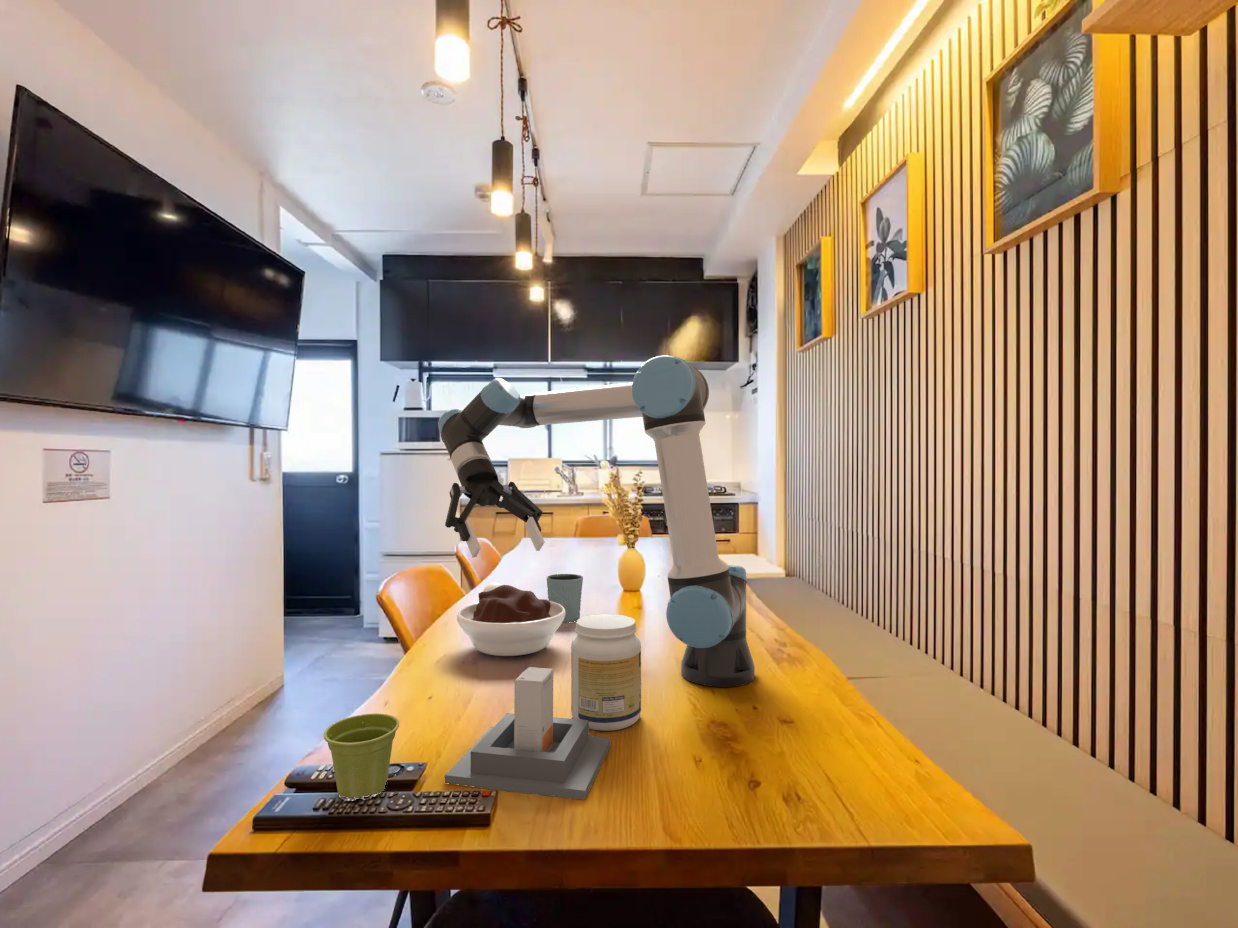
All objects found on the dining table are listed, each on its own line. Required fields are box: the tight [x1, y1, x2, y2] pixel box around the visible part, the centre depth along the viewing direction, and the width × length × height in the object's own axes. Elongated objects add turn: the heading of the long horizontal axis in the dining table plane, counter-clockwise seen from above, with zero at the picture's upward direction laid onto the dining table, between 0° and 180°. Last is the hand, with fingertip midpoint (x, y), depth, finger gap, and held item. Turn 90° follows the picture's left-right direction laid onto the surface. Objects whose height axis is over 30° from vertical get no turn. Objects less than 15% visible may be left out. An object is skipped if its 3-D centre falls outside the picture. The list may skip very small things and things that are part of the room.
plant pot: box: [323, 713, 400, 797], centre depth 85 cm, size 9×9×9 cm
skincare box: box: [513, 666, 554, 752], centre depth 93 cm, size 6×4×12 cm
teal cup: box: [546, 573, 584, 624], centre depth 176 cm, size 10×10×12 cm
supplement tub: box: [570, 613, 642, 732], centre depth 109 cm, size 12×12×17 cm
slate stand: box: [444, 712, 612, 801], centre depth 92 cm, size 20×16×4 cm
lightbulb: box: [482, 581, 503, 592], centre depth 172 cm, size 6×6×11 cm
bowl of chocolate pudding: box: [456, 584, 566, 657], centre depth 147 cm, size 25×25×15 cm
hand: (509, 549), depth 119 cm, fingers open, 13 cm apart
